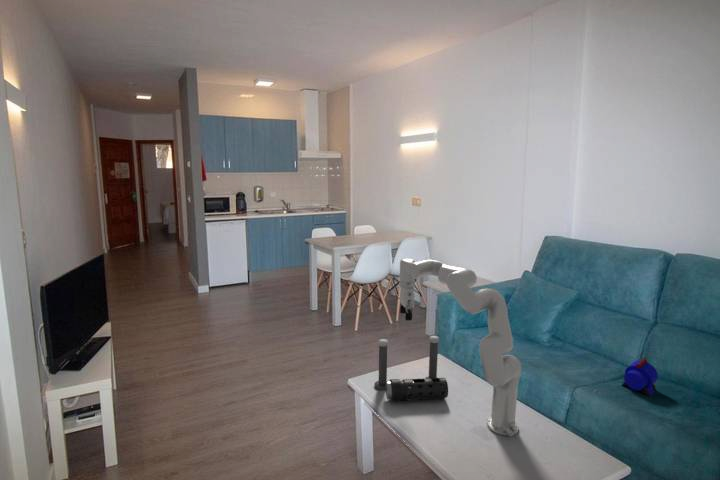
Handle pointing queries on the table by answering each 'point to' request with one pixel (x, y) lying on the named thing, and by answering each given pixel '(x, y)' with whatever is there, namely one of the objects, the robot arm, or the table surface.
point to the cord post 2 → (433, 357)
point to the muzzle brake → (416, 389)
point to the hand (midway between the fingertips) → (405, 316)
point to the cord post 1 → (382, 365)
